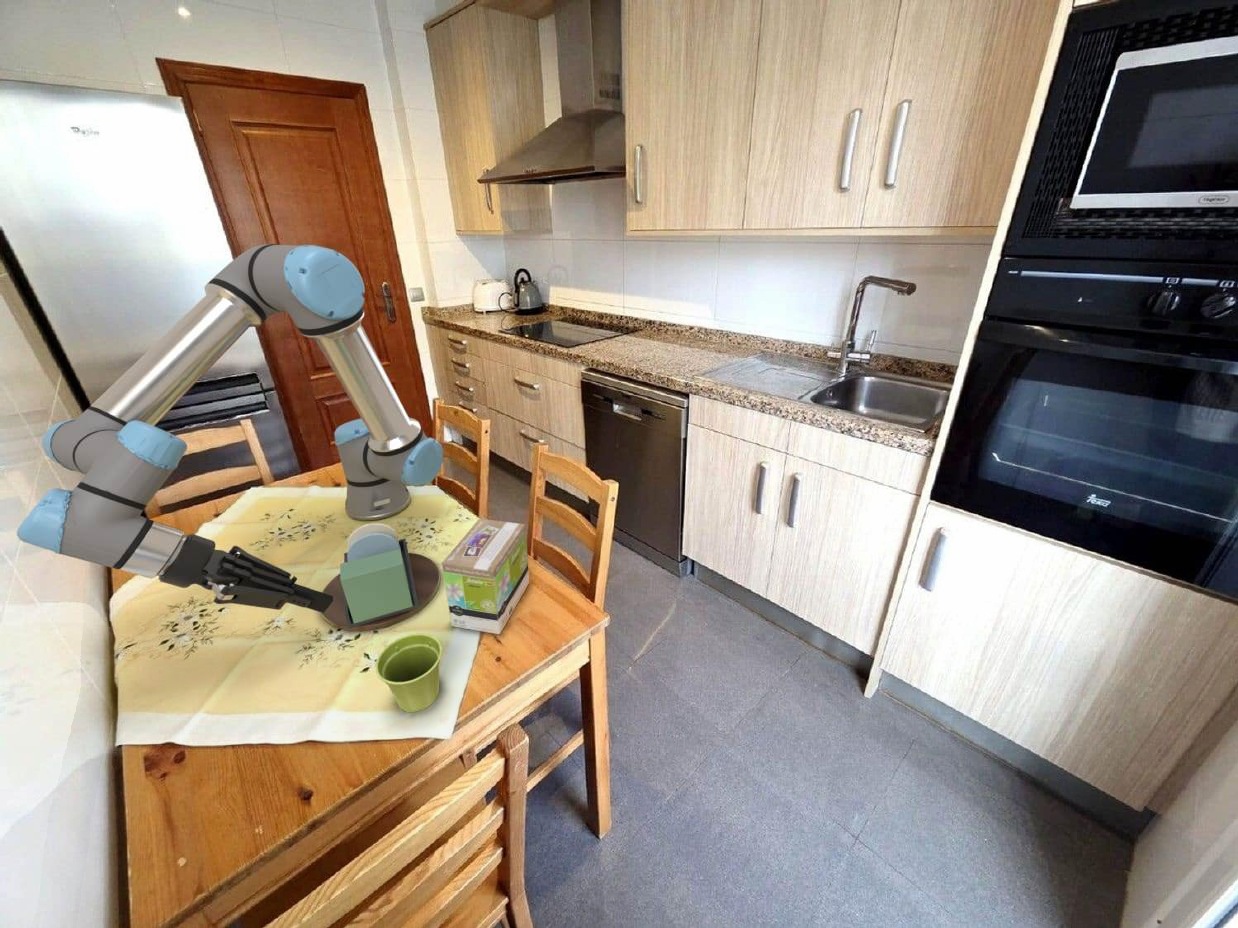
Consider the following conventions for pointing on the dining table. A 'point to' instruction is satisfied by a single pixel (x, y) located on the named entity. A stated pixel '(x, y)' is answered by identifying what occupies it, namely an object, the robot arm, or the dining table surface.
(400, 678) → the plant pot
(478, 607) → the tea box
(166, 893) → the dining table surface
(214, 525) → the dining table surface
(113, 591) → the dining table surface
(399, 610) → the dish rack
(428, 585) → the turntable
